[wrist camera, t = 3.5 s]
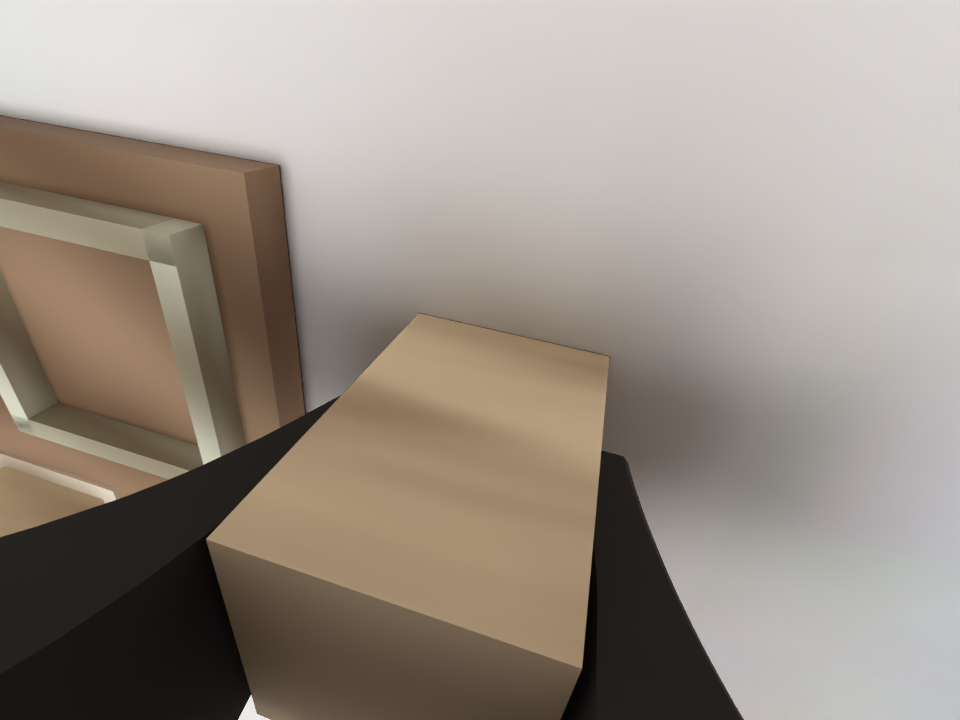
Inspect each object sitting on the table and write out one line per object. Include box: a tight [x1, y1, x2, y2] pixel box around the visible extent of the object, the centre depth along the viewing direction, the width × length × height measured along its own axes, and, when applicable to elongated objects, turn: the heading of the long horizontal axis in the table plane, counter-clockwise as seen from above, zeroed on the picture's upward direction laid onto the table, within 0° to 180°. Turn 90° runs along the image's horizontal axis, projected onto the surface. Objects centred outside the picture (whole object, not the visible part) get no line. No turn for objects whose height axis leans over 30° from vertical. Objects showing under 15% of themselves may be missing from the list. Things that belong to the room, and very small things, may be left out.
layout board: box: [0, 116, 305, 537], centre depth 12 cm, size 16×12×7 cm
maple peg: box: [206, 313, 610, 720], centre depth 8 cm, size 4×4×6 cm
